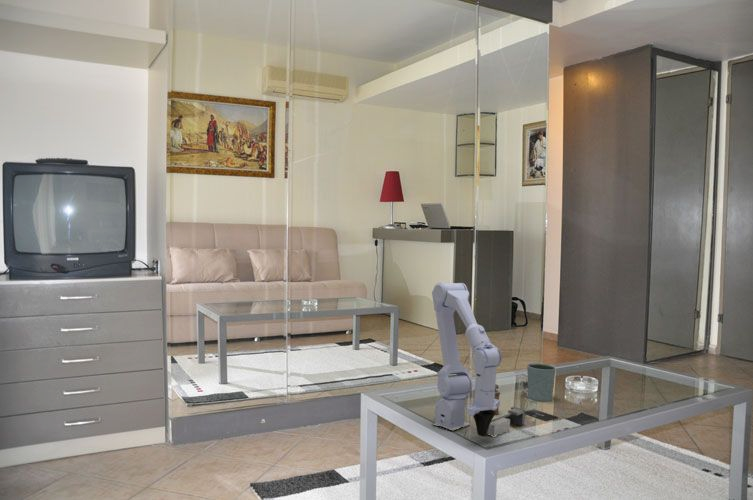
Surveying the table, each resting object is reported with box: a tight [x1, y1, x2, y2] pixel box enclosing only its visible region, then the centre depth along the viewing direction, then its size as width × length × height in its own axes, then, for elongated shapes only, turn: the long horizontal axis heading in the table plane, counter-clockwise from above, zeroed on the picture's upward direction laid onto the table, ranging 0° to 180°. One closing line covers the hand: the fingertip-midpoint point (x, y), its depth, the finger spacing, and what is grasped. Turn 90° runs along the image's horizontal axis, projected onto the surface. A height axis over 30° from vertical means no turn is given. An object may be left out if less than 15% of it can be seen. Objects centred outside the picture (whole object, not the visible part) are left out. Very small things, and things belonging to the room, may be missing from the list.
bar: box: [486, 418, 511, 436], centre depth 183 cm, size 9×2×4 cm, turn 138°
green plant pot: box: [526, 362, 557, 403], centre depth 224 cm, size 10×10×12 cm
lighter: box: [492, 383, 501, 416], centre depth 204 cm, size 8×3×10 cm, turn 21°
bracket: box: [491, 406, 526, 426], centre depth 187 cm, size 18×4×5 cm, turn 138°
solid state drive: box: [525, 408, 559, 422], centre depth 203 cm, size 7×10×1 cm
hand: (481, 435), depth 176 cm, fingers closed
